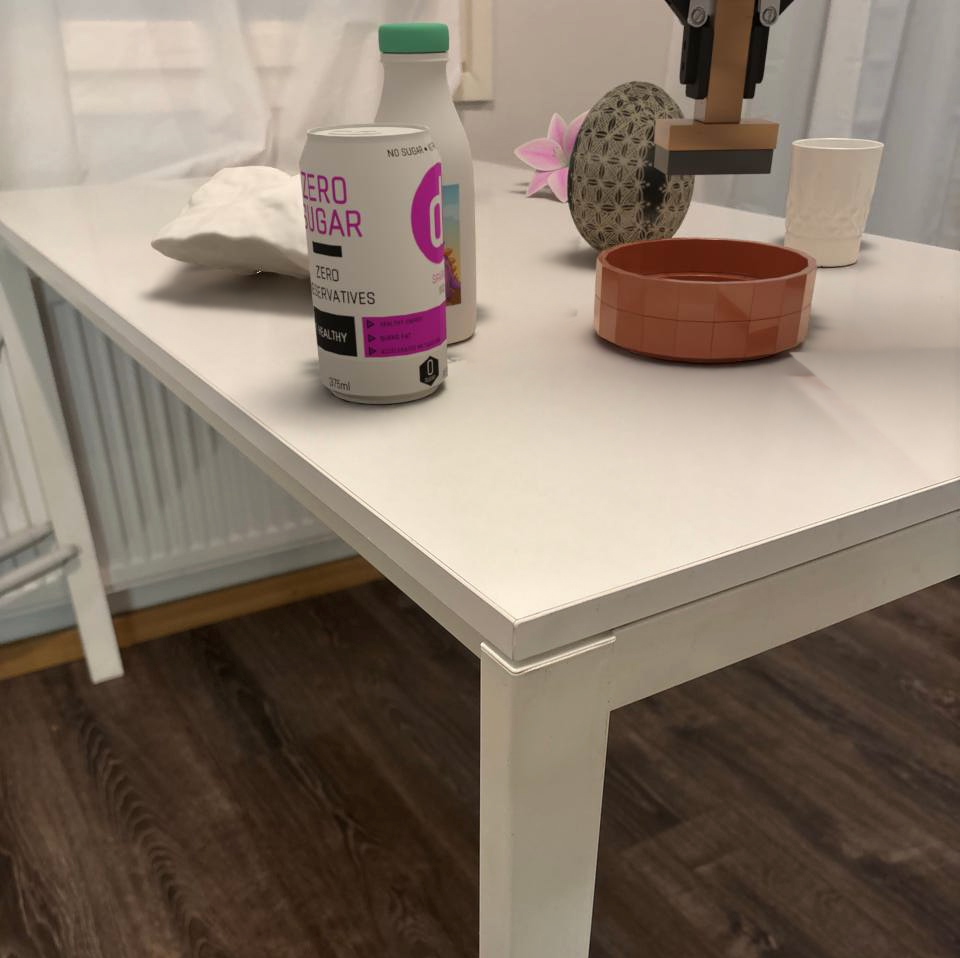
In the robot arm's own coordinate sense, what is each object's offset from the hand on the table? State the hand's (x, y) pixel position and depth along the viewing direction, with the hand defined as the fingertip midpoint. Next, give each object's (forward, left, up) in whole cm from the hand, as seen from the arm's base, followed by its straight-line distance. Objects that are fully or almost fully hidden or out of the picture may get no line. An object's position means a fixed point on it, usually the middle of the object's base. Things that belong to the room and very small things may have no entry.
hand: (719, 94), depth 66 cm
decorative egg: (0, -27, -16) cm, 31 cm away
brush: (0, 0, -5) cm, 5 cm away
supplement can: (+23, +9, -16) cm, 29 cm away
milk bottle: (+20, -3, -16) cm, 26 cm away
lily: (+1, -65, -16) cm, 67 cm away
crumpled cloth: (+32, -24, -16) cm, 43 cm away
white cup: (-18, -24, -16) cm, 34 cm away
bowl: (0, 0, -16) cm, 16 cm away
